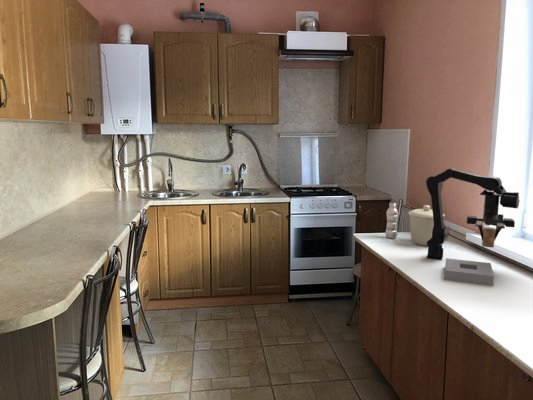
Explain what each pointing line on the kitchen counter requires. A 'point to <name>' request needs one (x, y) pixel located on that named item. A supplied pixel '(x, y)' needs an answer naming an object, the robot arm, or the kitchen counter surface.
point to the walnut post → (488, 237)
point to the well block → (469, 271)
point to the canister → (421, 225)
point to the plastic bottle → (391, 221)
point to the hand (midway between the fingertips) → (488, 240)
